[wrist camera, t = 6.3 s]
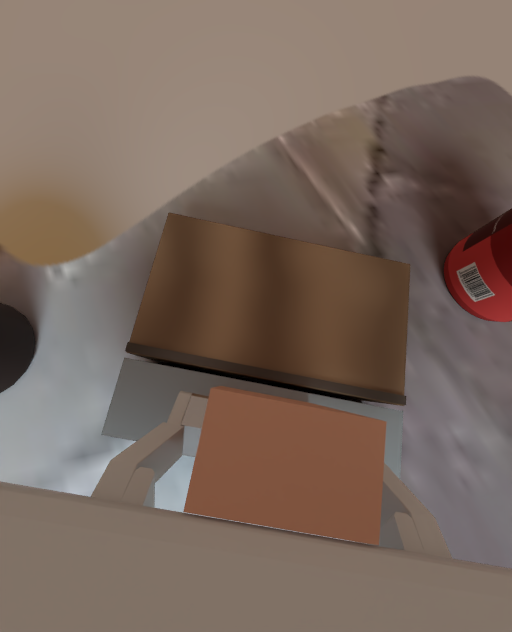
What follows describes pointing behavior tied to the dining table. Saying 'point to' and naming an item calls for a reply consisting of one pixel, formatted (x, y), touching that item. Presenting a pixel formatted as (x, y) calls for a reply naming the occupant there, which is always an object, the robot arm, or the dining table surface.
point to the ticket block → (275, 311)
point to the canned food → (483, 271)
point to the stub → (270, 450)
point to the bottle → (14, 345)
